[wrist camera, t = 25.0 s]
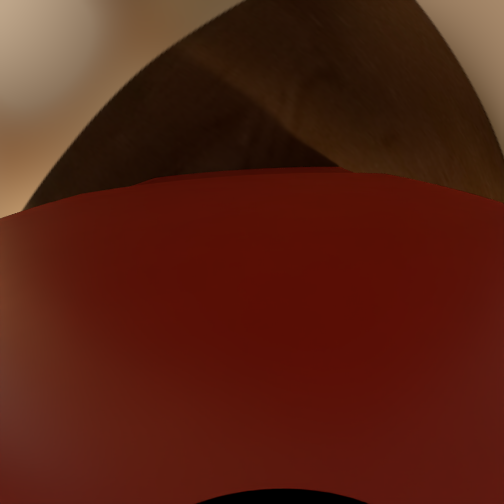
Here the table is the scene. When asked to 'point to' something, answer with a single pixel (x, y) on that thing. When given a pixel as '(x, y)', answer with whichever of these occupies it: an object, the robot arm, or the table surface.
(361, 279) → the lid
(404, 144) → the table surface
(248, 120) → the table surface
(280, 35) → the table surface
